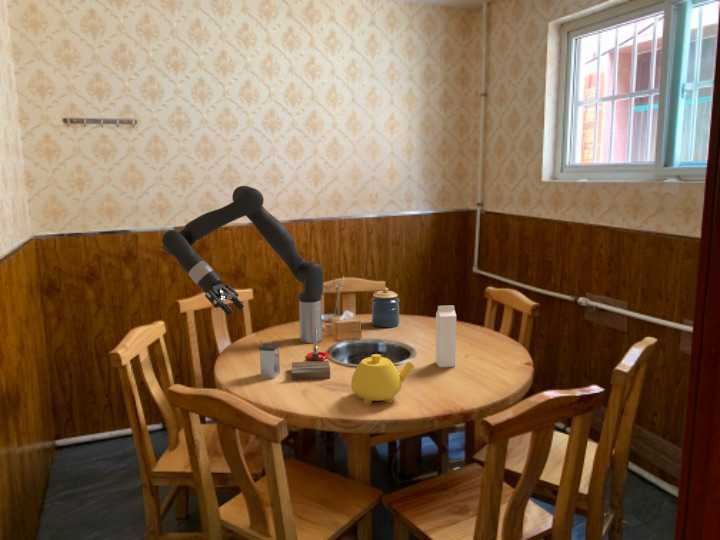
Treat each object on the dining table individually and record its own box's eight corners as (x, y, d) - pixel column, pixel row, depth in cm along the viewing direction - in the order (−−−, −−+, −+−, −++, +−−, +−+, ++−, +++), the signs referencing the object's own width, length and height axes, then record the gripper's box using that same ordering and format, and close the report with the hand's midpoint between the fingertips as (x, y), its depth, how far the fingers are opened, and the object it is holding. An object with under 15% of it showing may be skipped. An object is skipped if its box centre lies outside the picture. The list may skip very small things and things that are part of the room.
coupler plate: (292, 369, 197) (292, 358, 196) (328, 367, 198) (328, 356, 197) (292, 380, 186) (291, 368, 185) (330, 378, 187) (330, 367, 186)
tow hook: (310, 354, 215) (304, 360, 206) (309, 321, 214) (303, 326, 204) (331, 355, 214) (325, 361, 205) (330, 322, 212) (325, 327, 203)
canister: (386, 319, 265) (386, 283, 262) (405, 324, 255) (405, 287, 252) (365, 324, 256) (365, 287, 253) (384, 330, 246) (384, 291, 244)
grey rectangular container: (260, 377, 189) (259, 346, 187) (266, 372, 193) (265, 342, 192) (275, 378, 187) (274, 347, 185) (281, 373, 192) (279, 343, 190)
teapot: (408, 385, 180) (408, 345, 177) (421, 404, 165) (421, 361, 162) (348, 390, 177) (347, 349, 175) (355, 409, 162) (354, 365, 159)
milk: (435, 362, 203) (435, 304, 199) (451, 361, 203) (452, 303, 200) (439, 367, 197) (439, 307, 193) (455, 366, 197) (456, 307, 194)
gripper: (201, 273, 182) (234, 308, 181) (221, 266, 196) (252, 299, 195) (187, 288, 184) (220, 323, 184) (208, 280, 198) (239, 313, 197)
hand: (236, 310), depth 189 cm, fingers open, 8 cm apart
